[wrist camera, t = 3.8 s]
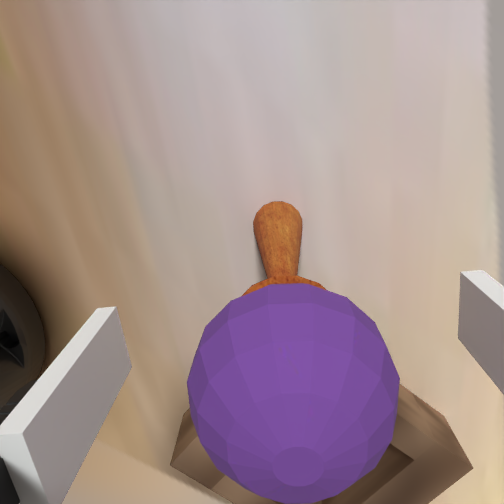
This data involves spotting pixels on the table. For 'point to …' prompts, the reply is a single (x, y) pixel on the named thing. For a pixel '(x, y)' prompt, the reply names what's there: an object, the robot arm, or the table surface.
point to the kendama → (292, 380)
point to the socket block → (373, 483)
